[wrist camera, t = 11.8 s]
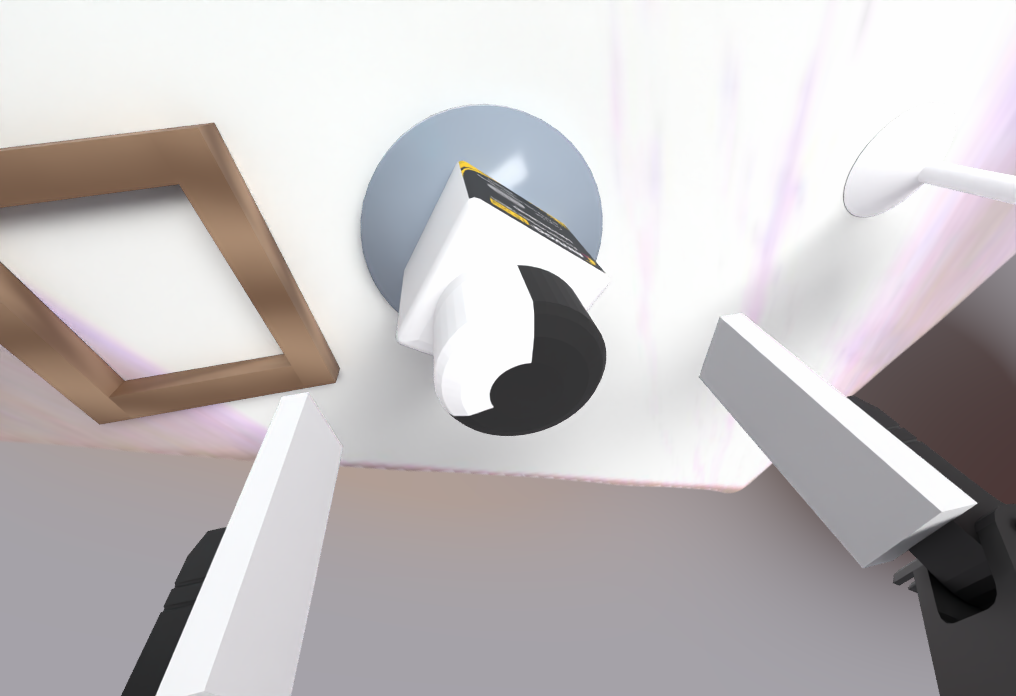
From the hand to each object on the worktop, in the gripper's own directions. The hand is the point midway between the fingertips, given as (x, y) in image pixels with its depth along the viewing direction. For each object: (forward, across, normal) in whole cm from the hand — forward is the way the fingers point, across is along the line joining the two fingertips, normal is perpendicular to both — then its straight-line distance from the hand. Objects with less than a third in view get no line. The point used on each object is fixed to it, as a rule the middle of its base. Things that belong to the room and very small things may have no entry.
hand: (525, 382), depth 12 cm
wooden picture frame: (+13, -19, 0) cm, 23 cm away
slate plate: (+13, 0, 0) cm, 13 cm away
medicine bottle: (+12, 0, 0) cm, 12 cm away
